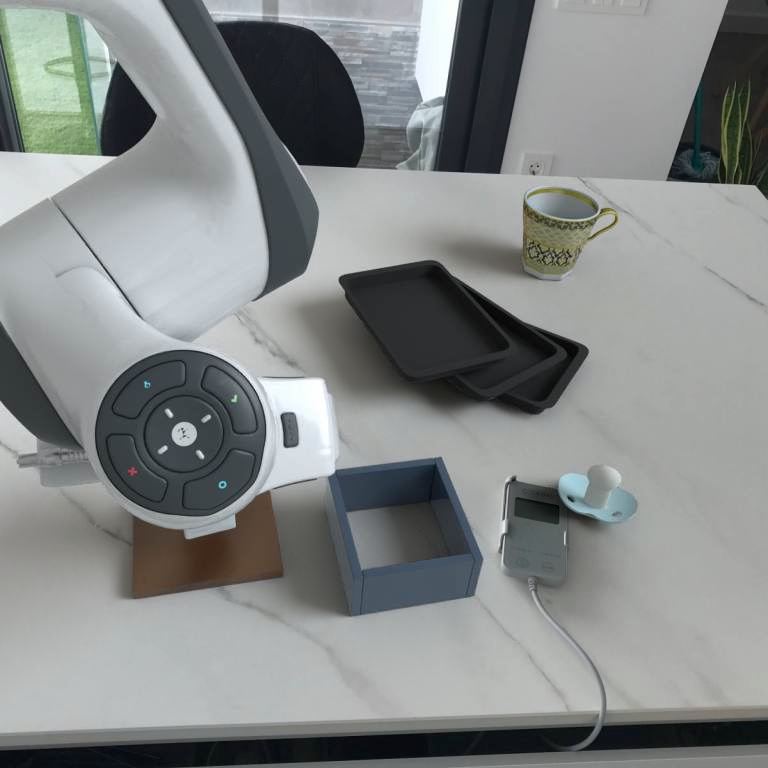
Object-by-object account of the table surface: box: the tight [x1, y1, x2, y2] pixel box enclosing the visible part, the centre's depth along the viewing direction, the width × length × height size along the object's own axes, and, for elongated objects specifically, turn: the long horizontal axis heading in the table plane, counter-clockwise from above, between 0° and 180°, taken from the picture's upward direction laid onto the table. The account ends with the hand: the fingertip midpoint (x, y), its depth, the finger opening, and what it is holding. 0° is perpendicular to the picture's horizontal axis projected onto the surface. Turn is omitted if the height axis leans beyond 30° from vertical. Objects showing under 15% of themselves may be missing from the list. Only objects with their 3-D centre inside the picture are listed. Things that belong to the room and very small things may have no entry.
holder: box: [324, 456, 484, 617], centre depth 66 cm, size 11×12×5 cm
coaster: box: [132, 490, 285, 600], centre depth 67 cm, size 12×10×1 cm
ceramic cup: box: [521, 184, 619, 281], centre depth 104 cm, size 13×10×10 cm
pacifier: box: [557, 464, 639, 525], centre depth 72 cm, size 7×6×6 cm
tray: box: [337, 259, 590, 415], centre depth 88 cm, size 30×23×5 cm
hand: (196, 444), depth 61 cm, fingers closed on cosmetic box, 4 cm apart
